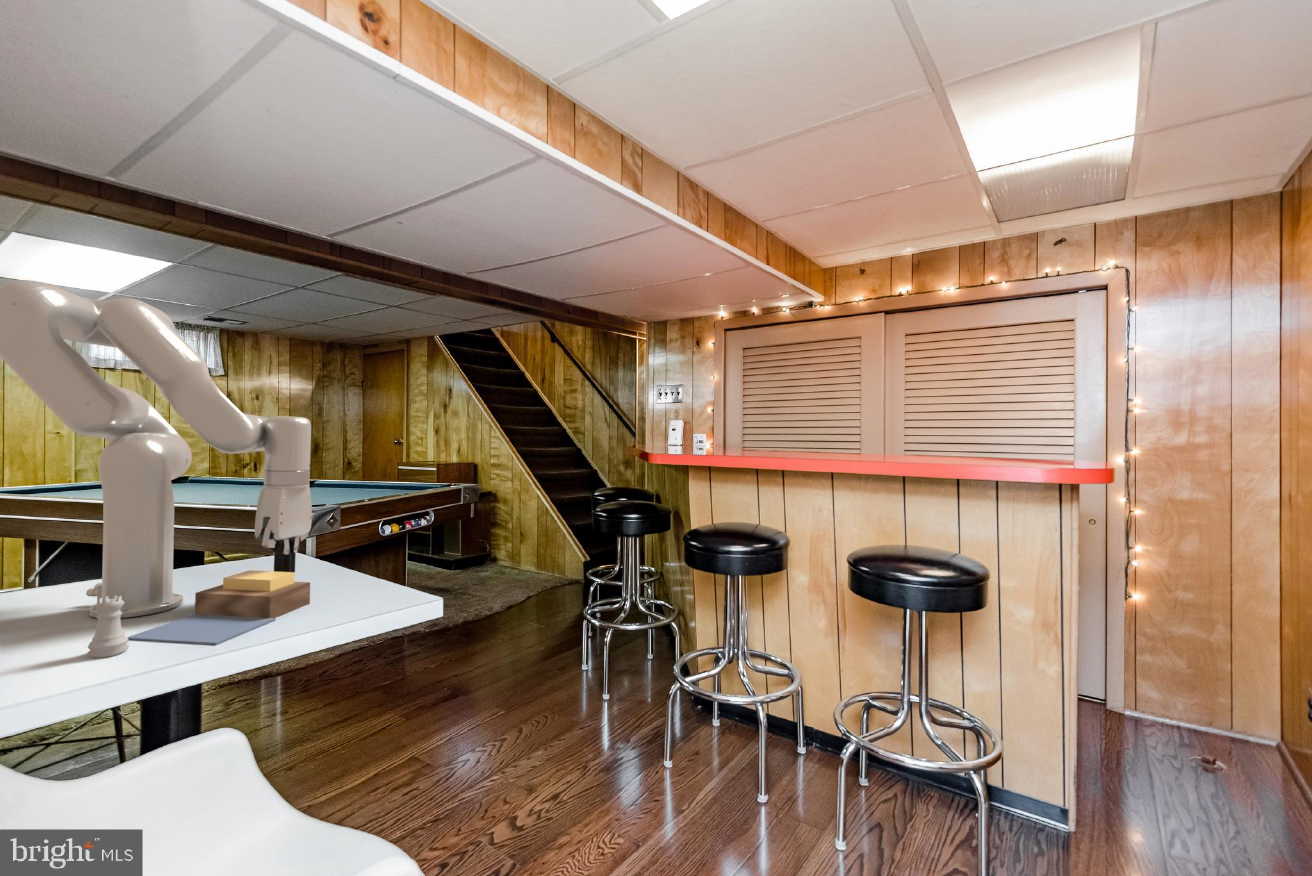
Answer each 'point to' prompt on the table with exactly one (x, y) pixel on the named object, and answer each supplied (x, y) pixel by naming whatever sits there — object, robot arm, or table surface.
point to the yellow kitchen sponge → (258, 580)
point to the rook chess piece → (108, 629)
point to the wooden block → (252, 601)
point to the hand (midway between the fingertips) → (284, 573)
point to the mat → (202, 629)
